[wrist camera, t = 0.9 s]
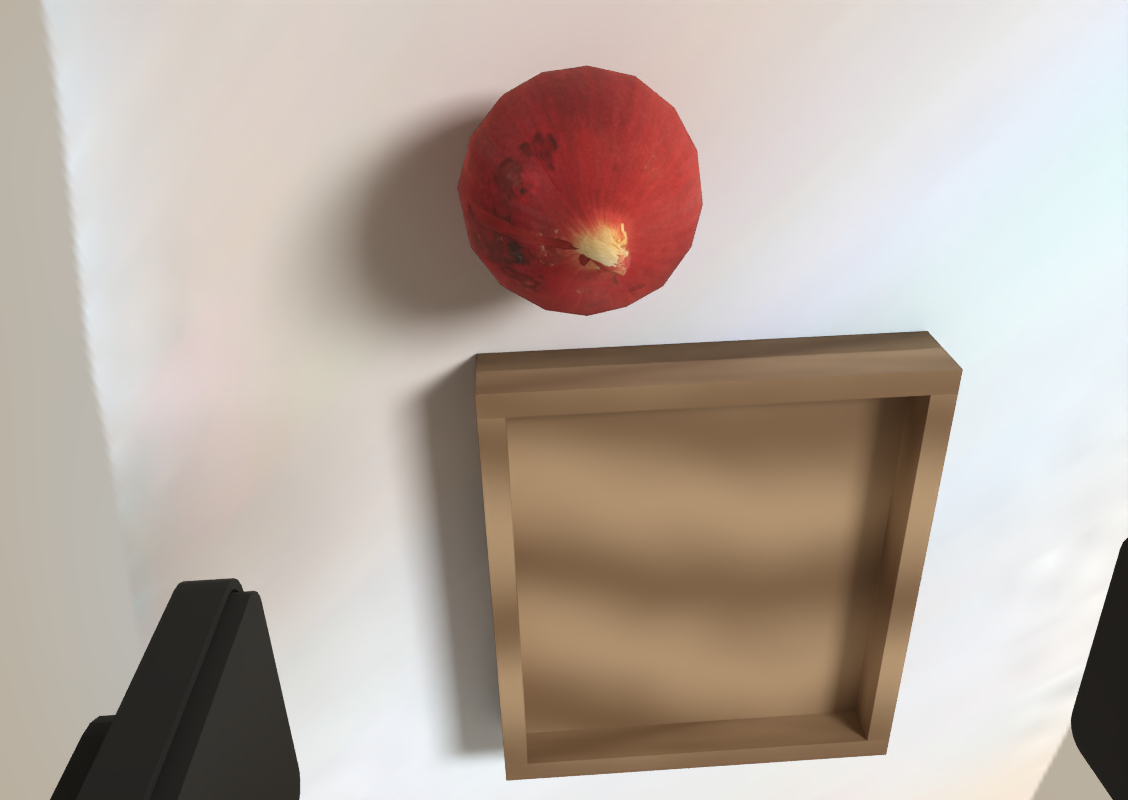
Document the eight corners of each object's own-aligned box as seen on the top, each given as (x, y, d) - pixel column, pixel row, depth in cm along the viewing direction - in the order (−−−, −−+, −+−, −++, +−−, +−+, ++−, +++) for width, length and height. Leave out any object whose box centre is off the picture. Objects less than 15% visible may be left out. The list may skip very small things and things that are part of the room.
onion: (488, 268, 28) (485, 402, 21) (442, 66, 25) (422, 143, 18) (685, 232, 28) (749, 354, 21) (661, 24, 25) (726, 85, 18)
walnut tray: (476, 353, 29) (474, 394, 27) (927, 330, 30) (962, 369, 28) (505, 724, 37) (506, 780, 35) (862, 701, 38) (886, 754, 35)
